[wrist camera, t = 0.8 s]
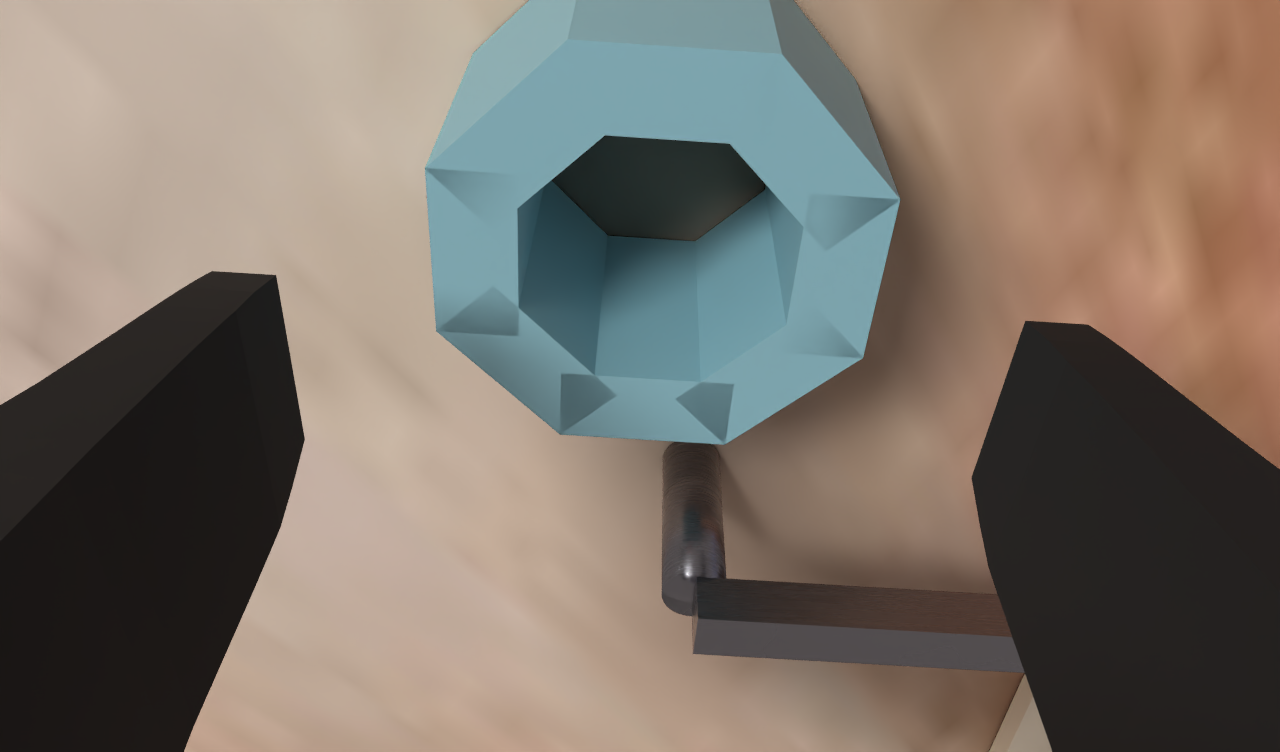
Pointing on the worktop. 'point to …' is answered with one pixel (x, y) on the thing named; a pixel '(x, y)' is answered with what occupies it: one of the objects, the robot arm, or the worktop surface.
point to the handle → (808, 597)
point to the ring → (658, 268)
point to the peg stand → (1022, 725)
